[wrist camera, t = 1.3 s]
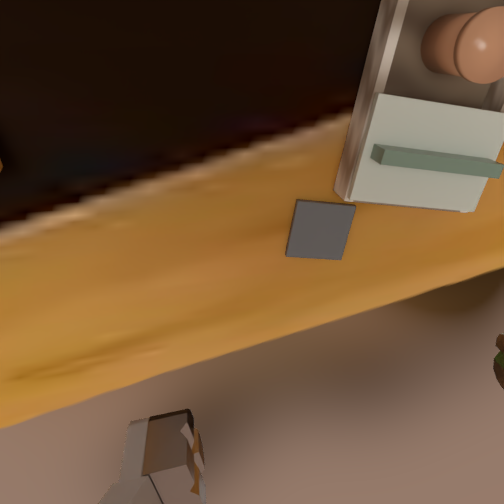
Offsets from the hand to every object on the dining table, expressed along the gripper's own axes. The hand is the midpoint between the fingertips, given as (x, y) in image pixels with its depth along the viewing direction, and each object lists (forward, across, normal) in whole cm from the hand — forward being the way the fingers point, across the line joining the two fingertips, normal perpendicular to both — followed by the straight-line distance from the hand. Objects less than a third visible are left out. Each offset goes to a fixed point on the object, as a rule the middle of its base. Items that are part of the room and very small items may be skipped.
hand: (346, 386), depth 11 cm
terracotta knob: (+35, -22, -4) cm, 42 cm away
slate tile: (+36, -8, +14) cm, 39 cm away
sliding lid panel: (+32, -19, +6) cm, 38 cm away
